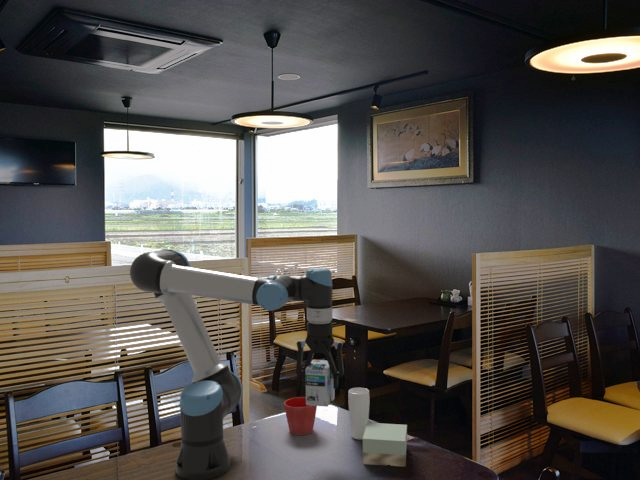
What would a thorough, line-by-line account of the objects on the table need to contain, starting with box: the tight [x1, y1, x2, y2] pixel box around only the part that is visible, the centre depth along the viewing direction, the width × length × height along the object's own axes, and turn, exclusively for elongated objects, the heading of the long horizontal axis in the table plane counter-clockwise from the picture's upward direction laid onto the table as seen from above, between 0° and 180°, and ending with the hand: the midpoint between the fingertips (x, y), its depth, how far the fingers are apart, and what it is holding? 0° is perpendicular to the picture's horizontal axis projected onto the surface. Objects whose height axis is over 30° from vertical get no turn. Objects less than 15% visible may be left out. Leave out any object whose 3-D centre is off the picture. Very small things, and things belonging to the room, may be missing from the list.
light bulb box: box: [305, 359, 333, 408], centre depth 162 cm, size 11×7×11 cm, turn 169°
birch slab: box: [362, 451, 407, 468], centre depth 162 cm, size 12×12×4 cm
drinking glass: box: [347, 387, 371, 440], centre depth 175 cm, size 7×7×15 cm
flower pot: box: [283, 396, 318, 436], centre depth 181 cm, size 11×11×10 cm
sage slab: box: [362, 422, 408, 455], centre depth 161 cm, size 12×12×4 cm
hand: (320, 398), depth 162 cm, fingers closed on light bulb box, 7 cm apart
